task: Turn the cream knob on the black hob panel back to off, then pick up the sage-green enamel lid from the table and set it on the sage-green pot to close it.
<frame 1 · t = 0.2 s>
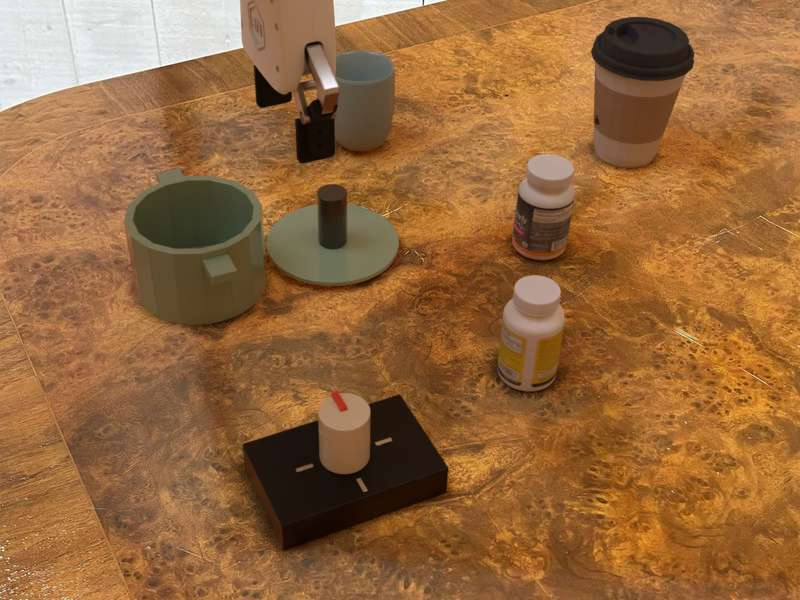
hand: (294, 130, 91), 19 cm above the table, tool pointing down, fingers open, 9 cm apart
hob panel: (344, 480, 87), on the table
coffee cup: (623, 153, 127), on the table
pot: (202, 283, 105), on the table
pill bottle: (538, 247, 112), on the table
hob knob: (344, 432, 83), point 6 cm above the table, hinge at 90.0°
cup: (360, 143, 127), on the table
supplement bottle: (525, 374, 97), on the table
pot lid: (332, 244, 110), point 1 cm above the table
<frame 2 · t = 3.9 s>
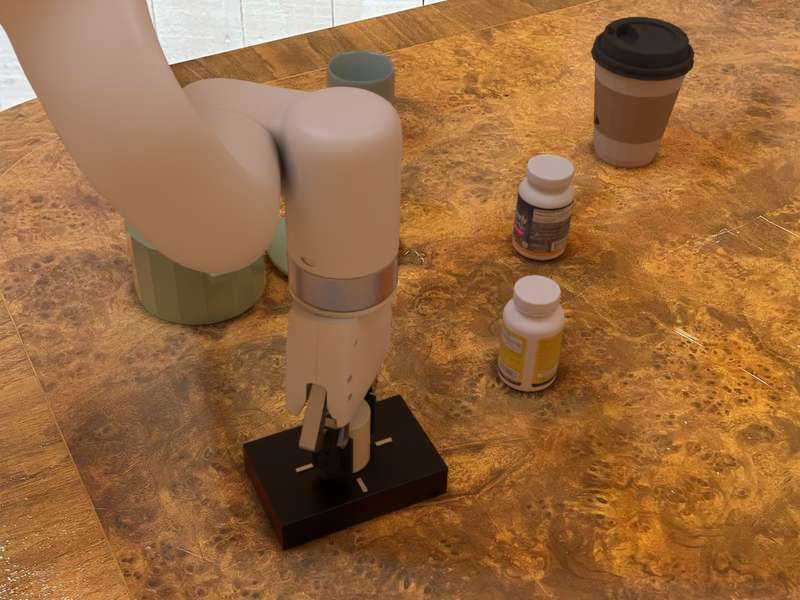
hand: (344, 447, 84), 4 cm above the table, tool pointing down, fingers closed on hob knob, 4 cm apart
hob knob: (344, 432, 83), point 6 cm above the table, hinge at 90.1°, touching gripper
everything else where it was.
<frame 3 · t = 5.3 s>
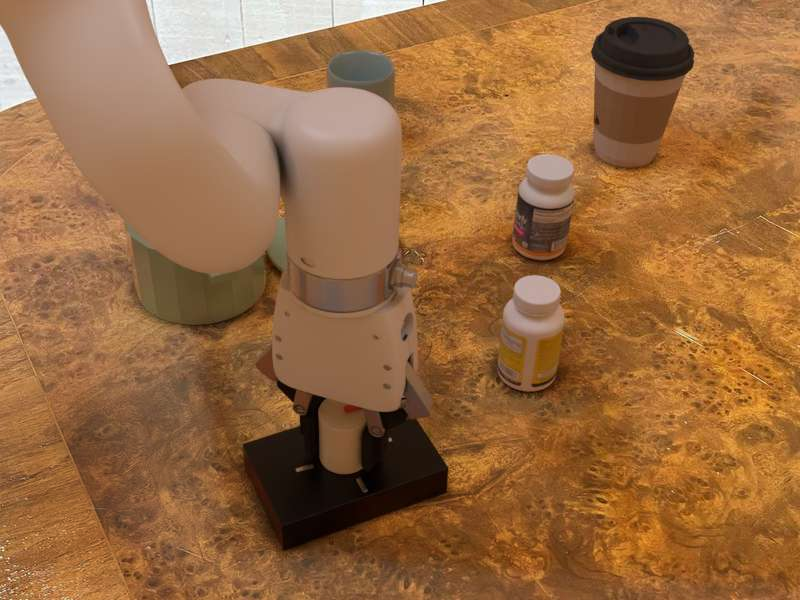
hand: (344, 447, 84), 4 cm above the table, tool pointing down, fingers closed on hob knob, 4 cm apart
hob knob: (344, 432, 83), point 6 cm above the table, hinge at -1.1°, touching gripper
everything else where it was.
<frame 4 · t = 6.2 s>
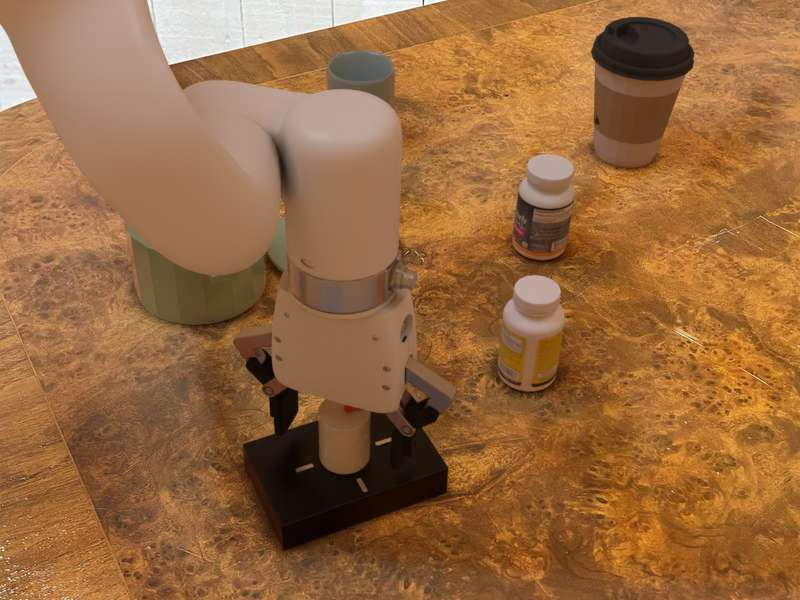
hand: (343, 440, 84), 5 cm above the table, tool pointing down, fingers open, 9 cm apart
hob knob: (344, 432, 83), point 6 cm above the table, hinge at -1.5°
everything else where it was.
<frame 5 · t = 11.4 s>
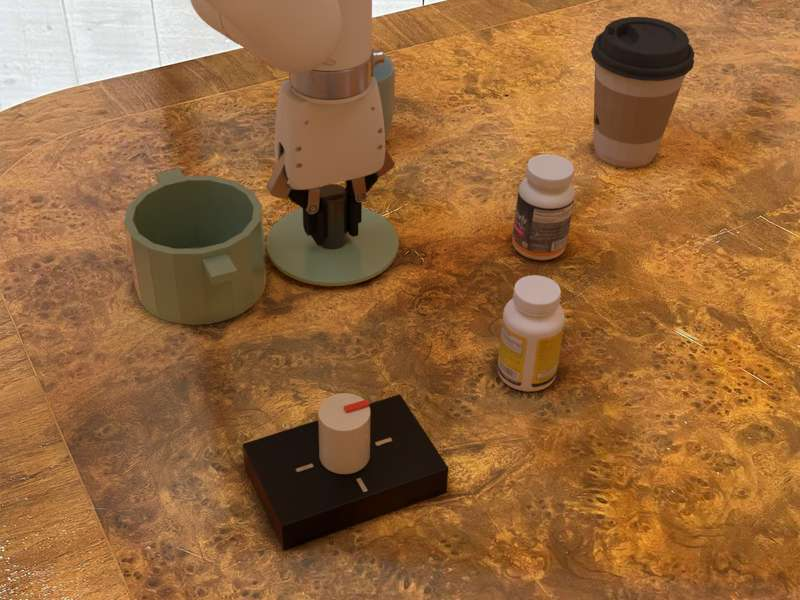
hand: (332, 232, 109), 2 cm above the table, tool pointing down, fingers closed on pot lid, 3 cm apart
pot lid: (332, 244, 110), point 1 cm above the table, touching gripper
everything else where it was.
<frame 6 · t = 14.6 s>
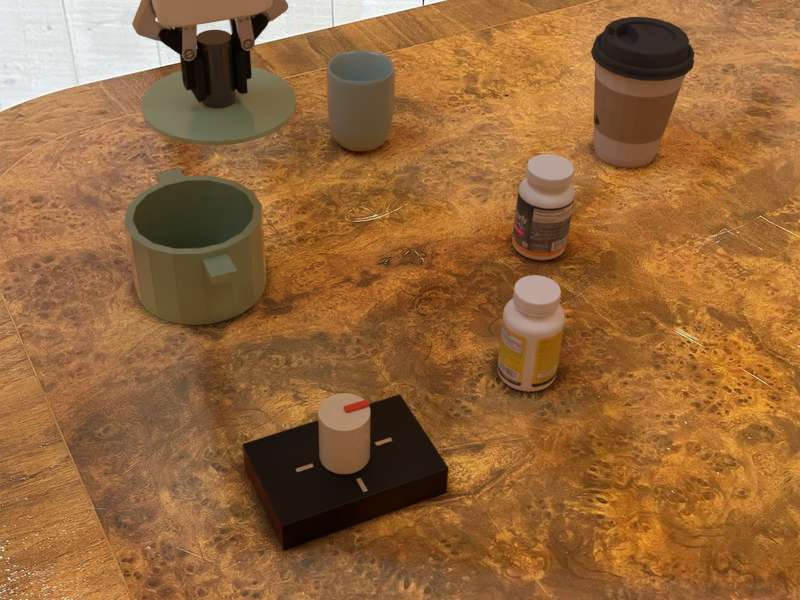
hand: (218, 89, 93), 21 cm above the table, tool pointing down, fingers closed on pot lid, 3 cm apart
pot lid: (219, 105, 94), point 19 cm above the table, touching gripper
everything else where it was.
when the fingers open (10 cm above the table, at t = 17.7 s): pot lid stays where it is, resting on pot.
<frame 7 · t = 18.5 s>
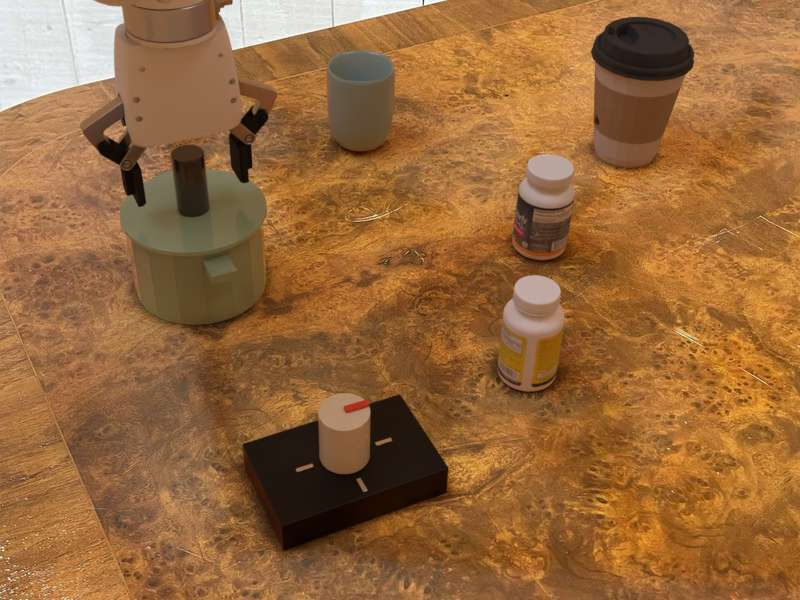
hand: (190, 186, 98), 11 cm above the table, tool pointing down, fingers open, 9 cm apart
pot lid: (194, 212, 100), point 8 cm above the table, touching pot
everything else where it was.
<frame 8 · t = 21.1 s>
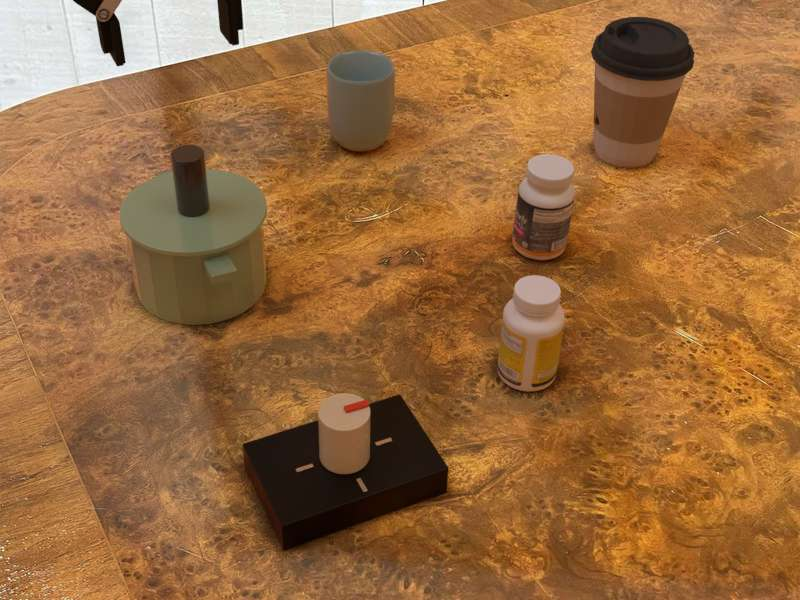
hand: (174, 48, 89), 25 cm above the table, tool pointing down, fingers open, 9 cm apart
nothing on the table moved.
at the end: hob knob at -2° (first picture: +90°); pot lid 0.1 cm off-centre on the pot, point 8.5 cm above the pot's base; pot lid tilted 0° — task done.
